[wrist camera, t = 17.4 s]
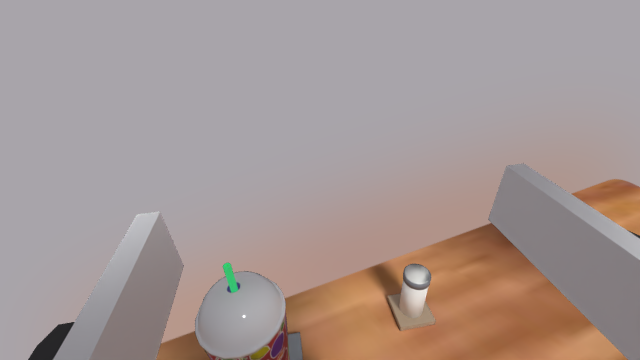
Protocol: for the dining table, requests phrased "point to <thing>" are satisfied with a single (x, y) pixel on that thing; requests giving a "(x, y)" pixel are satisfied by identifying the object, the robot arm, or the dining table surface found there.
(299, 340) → the mat
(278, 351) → the smoothie
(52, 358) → the robot arm
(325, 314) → the dining table surface
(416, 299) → the post
